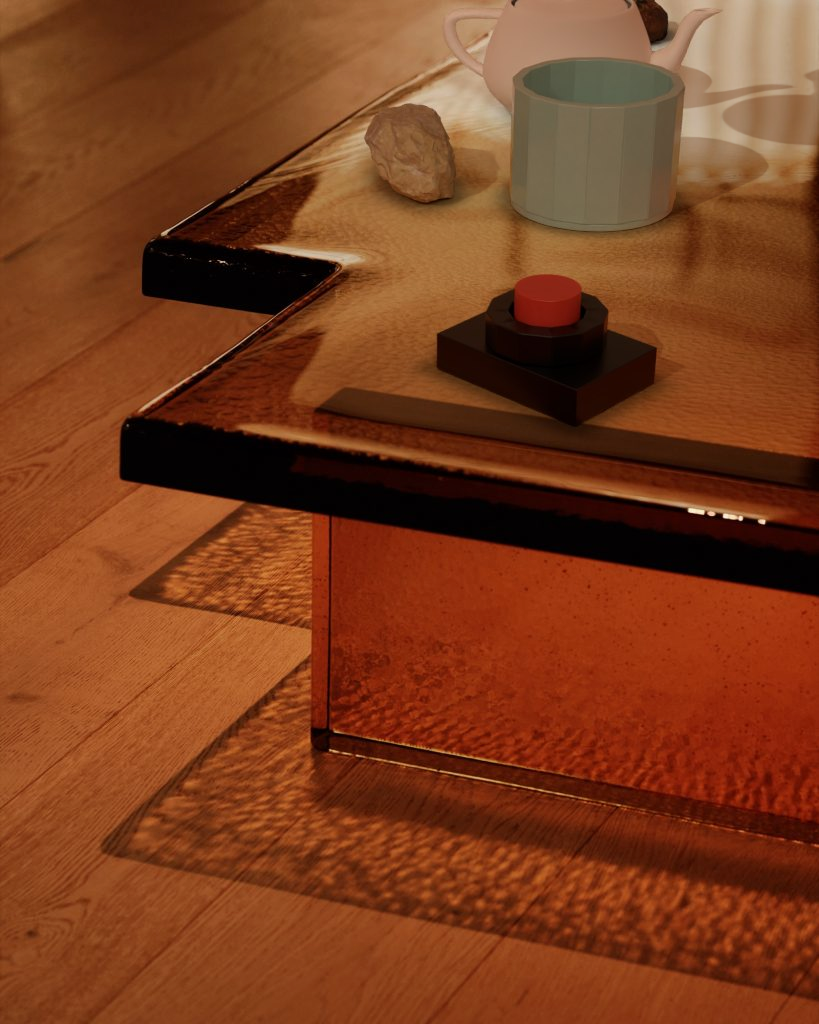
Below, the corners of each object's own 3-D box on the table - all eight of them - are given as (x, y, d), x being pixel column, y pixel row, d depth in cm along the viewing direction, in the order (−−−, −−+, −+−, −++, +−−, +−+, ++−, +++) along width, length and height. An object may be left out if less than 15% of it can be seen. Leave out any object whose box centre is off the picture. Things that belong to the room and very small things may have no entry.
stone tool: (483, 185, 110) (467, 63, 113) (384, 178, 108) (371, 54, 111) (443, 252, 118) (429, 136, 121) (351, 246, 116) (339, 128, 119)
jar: (706, 199, 112) (717, 79, 108) (605, 245, 106) (613, 118, 101) (579, 162, 119) (585, 47, 115) (476, 202, 112) (478, 82, 108)
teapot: (425, 127, 126) (425, -13, 121) (457, 77, 138) (459, -53, 132) (707, 145, 122) (721, 1, 117) (717, 92, 134) (730, -41, 128)
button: (593, 316, 88) (595, 286, 87) (551, 336, 85) (552, 306, 84) (542, 297, 90) (543, 268, 89) (500, 317, 88) (501, 287, 87)
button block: (654, 383, 89) (660, 316, 87) (574, 427, 84) (578, 358, 82) (517, 329, 95) (519, 266, 92) (436, 368, 90) (436, 303, 88)
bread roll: (687, 42, 145) (683, -14, 143) (569, 67, 144) (564, 11, 142) (647, 16, 155) (643, -37, 152) (537, 39, 154) (531, -14, 151)
